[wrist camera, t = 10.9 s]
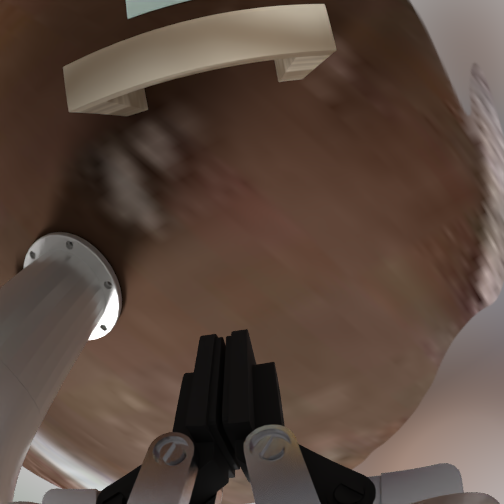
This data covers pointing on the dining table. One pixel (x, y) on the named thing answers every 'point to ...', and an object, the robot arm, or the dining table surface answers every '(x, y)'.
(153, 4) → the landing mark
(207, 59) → the bridge
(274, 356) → the dining table surface
